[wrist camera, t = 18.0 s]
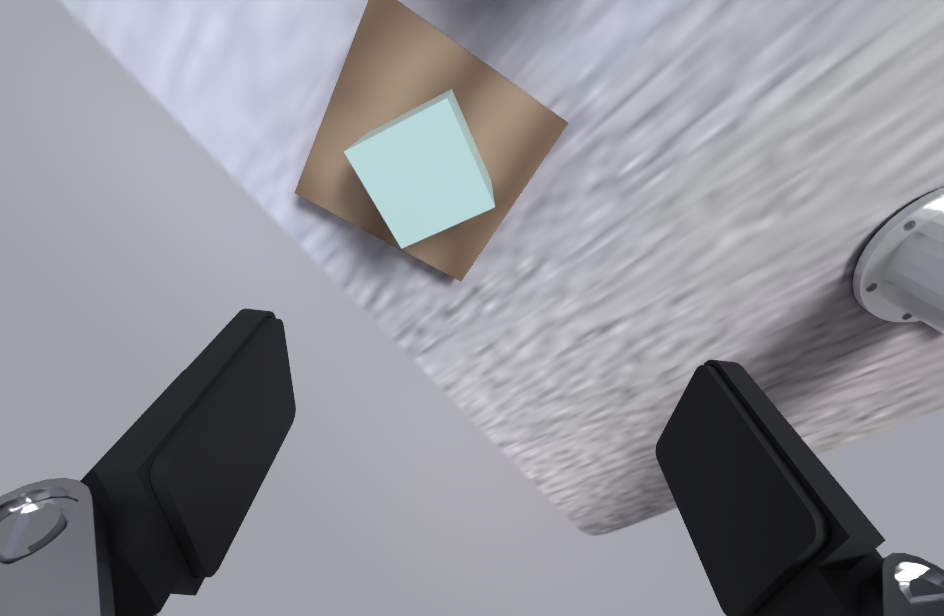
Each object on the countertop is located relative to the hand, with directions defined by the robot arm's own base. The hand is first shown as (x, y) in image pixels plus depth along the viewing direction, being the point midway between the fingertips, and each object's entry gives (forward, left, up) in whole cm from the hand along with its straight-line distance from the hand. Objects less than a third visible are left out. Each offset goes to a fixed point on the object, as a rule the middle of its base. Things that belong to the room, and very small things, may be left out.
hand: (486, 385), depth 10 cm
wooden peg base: (+3, +2, -25) cm, 25 cm away
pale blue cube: (+3, +2, -23) cm, 23 cm away
